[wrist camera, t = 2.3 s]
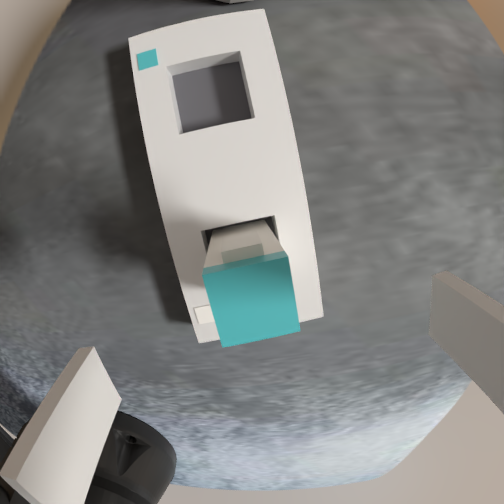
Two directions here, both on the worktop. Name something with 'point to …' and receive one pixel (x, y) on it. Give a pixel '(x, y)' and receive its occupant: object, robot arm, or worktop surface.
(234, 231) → the plug
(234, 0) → the water bottle
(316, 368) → the worktop surface
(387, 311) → the worktop surface
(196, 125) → the panel
